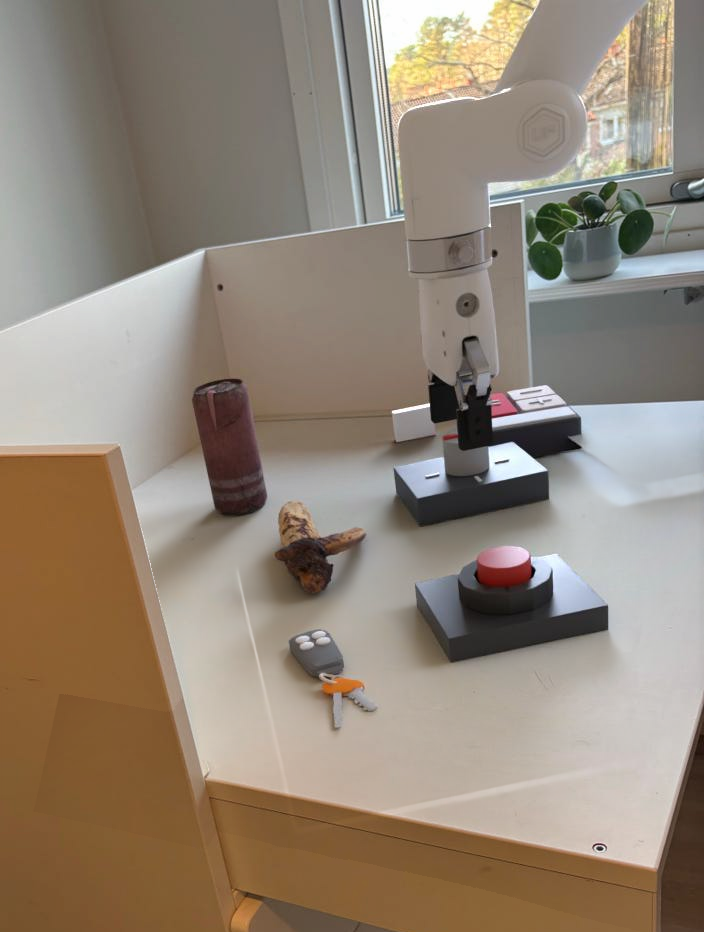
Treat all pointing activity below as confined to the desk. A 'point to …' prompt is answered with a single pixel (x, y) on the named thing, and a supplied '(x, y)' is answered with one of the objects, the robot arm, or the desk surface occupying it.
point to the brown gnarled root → (310, 547)
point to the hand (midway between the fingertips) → (460, 433)
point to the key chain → (328, 669)
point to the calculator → (534, 421)
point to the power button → (504, 566)
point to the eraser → (412, 423)
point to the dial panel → (471, 486)
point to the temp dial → (463, 457)
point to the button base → (510, 609)
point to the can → (230, 446)
